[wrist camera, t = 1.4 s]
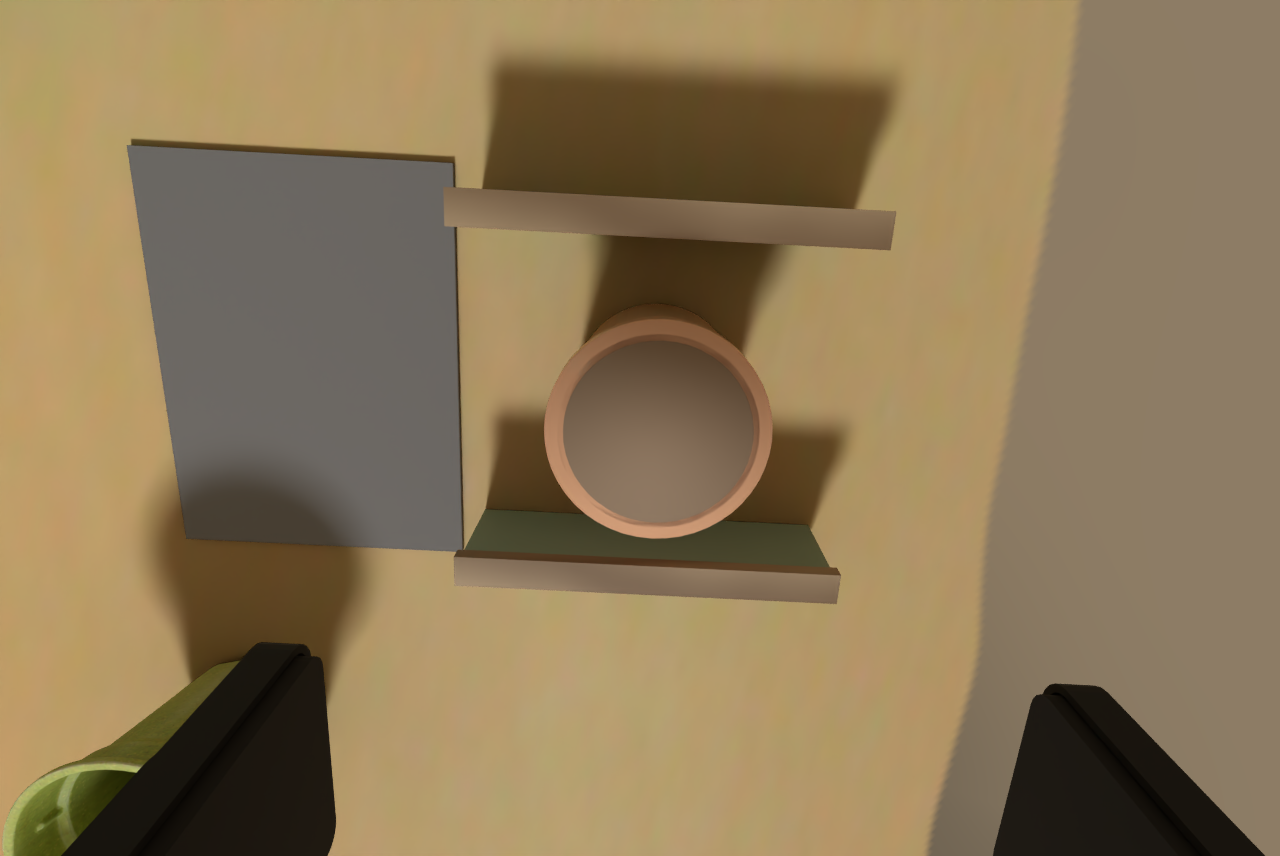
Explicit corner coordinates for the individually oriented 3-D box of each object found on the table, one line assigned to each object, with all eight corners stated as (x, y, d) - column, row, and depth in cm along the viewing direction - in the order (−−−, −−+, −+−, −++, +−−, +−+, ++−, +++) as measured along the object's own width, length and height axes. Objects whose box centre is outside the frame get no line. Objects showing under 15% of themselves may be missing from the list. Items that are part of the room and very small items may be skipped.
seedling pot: (569, 288, 28) (545, 314, 21) (751, 298, 28) (784, 327, 21) (565, 460, 30) (542, 533, 23) (735, 468, 30) (760, 544, 24)
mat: (130, 145, 26) (127, 145, 26) (454, 163, 27) (452, 163, 26) (189, 536, 31) (186, 538, 31) (463, 549, 31) (462, 552, 31)
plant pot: (130, 738, 34) (-32, 906, 26) (198, 589, 32) (43, 723, 24) (310, 816, 36) (210, 999, 28) (388, 679, 33) (304, 835, 25)
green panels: (475, 189, 27) (443, 186, 23) (855, 210, 27) (896, 211, 23) (481, 532, 31) (454, 585, 27) (809, 548, 31) (836, 603, 27)
